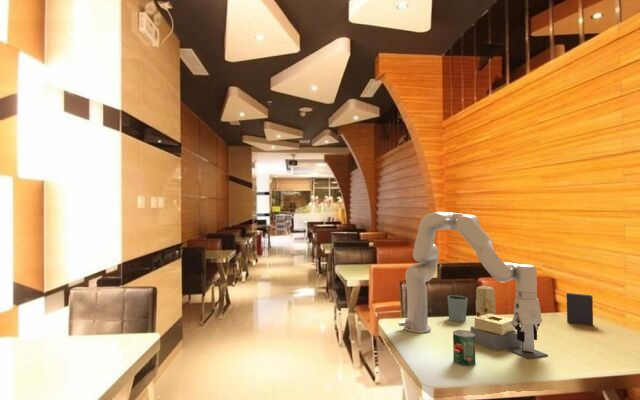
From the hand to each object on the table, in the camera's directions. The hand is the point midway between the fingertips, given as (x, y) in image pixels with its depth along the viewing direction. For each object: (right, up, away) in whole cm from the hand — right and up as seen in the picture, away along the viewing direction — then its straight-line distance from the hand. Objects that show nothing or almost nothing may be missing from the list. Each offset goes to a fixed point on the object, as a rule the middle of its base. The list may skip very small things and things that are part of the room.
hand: (527, 339), depth 152 cm
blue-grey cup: (-11, -8, +48) cm, 49 cm away
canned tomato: (-29, -5, -10) cm, 32 cm away
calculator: (+50, -7, +42) cm, 66 cm away
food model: (0, -7, +36) cm, 37 cm away
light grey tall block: (0, -4, 0) cm, 4 cm away
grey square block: (-8, -6, +11) cm, 15 cm away
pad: (0, -5, 0) cm, 5 cm away
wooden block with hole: (-7, 0, +12) cm, 14 cm away
